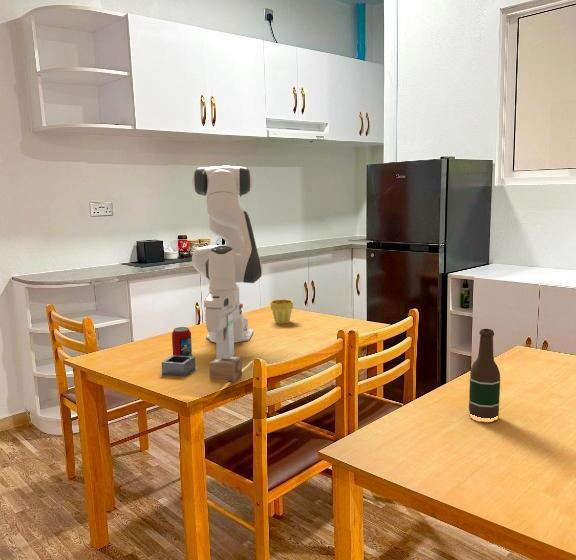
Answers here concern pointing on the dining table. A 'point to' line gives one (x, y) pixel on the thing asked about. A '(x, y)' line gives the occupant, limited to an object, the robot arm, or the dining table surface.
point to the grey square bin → (178, 366)
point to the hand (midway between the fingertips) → (224, 338)
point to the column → (226, 340)
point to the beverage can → (182, 341)
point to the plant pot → (281, 310)
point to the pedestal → (226, 368)
